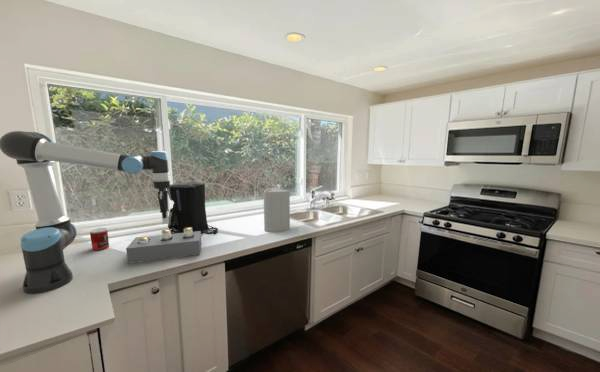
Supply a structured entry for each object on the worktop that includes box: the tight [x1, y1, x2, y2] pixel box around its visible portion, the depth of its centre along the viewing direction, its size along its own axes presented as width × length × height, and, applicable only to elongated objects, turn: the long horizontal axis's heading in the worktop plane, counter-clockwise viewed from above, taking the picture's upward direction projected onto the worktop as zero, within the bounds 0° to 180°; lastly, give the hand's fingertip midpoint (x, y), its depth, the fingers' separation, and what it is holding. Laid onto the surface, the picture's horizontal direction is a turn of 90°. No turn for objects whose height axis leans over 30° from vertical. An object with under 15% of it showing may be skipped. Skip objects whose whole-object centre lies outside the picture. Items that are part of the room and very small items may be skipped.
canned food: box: [89, 227, 110, 252], centre depth 144 cm, size 8×8×11 cm
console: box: [125, 231, 202, 264], centre depth 138 cm, size 16×34×8 cm, turn 108°
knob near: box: [139, 235, 149, 243], centre depth 134 cm, size 4×4×8 cm
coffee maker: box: [166, 181, 219, 235], centre depth 172 cm, size 23×32×34 cm
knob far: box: [184, 227, 193, 239], centre depth 141 cm, size 4×4×8 cm
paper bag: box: [263, 187, 291, 233], centre depth 176 cm, size 19×15×28 cm
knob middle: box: [161, 228, 172, 241], centre depth 137 cm, size 4×4×8 cm
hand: (165, 223), depth 136 cm, fingers closed
